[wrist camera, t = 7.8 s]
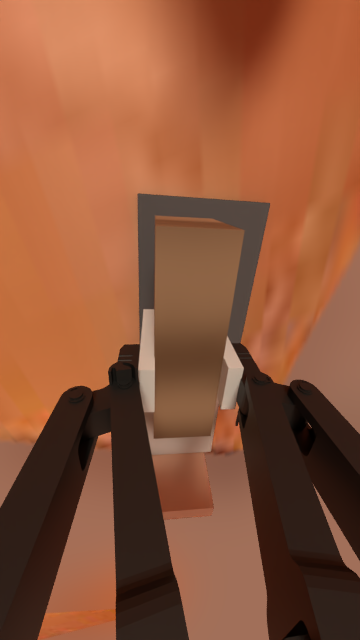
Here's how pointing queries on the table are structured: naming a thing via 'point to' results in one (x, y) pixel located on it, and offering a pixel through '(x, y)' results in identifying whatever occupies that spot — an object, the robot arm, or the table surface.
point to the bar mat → (225, 211)
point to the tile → (183, 485)
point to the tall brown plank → (190, 328)
